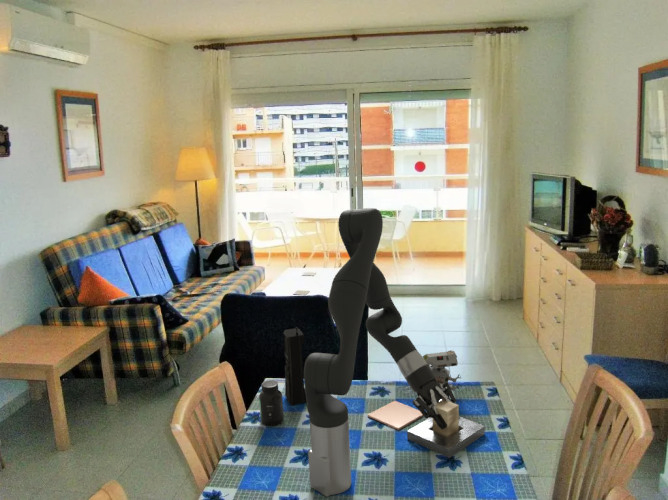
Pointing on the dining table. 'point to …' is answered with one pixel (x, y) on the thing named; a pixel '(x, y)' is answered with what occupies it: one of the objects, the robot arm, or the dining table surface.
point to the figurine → (442, 366)
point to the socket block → (443, 444)
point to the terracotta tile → (396, 415)
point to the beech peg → (447, 418)
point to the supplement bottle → (271, 404)
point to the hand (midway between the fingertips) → (451, 423)
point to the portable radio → (294, 366)
